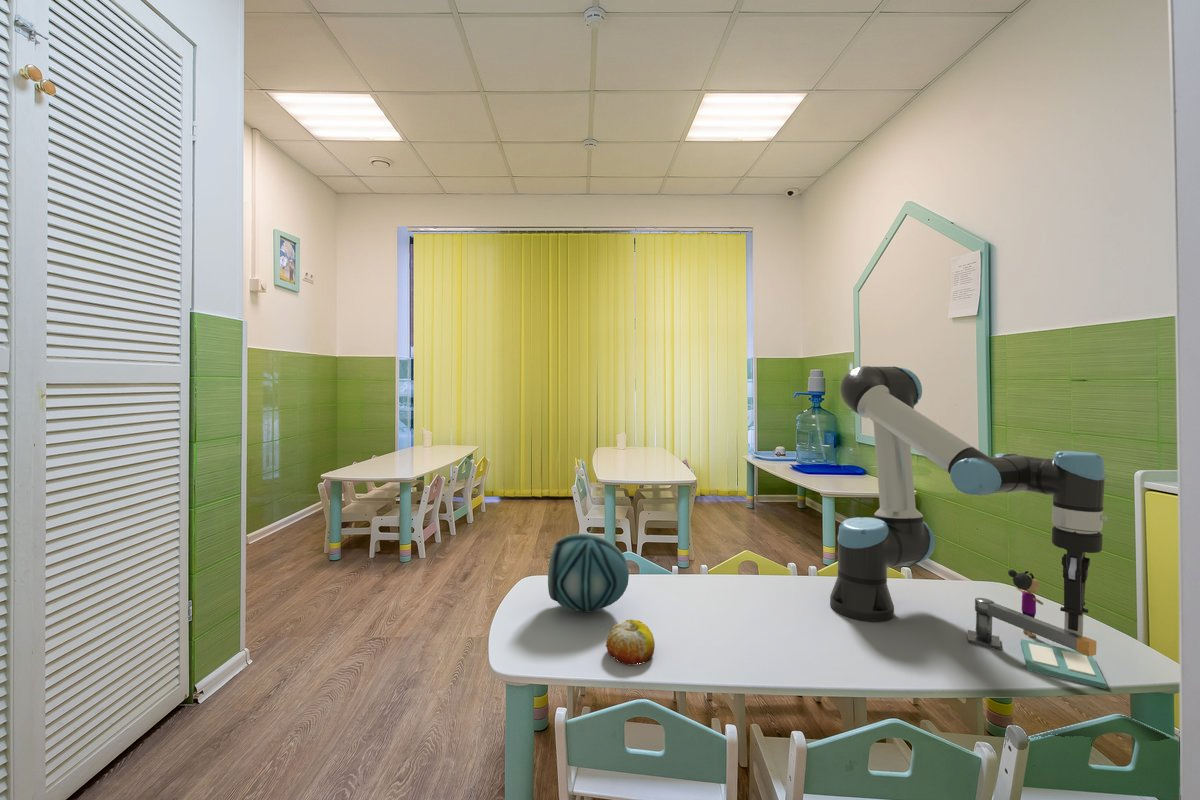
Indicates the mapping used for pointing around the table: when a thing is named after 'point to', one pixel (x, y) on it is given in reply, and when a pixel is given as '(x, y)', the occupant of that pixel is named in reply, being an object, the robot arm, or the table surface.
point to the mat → (1062, 663)
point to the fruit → (631, 642)
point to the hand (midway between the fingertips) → (1073, 643)
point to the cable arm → (1037, 626)
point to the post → (984, 633)
